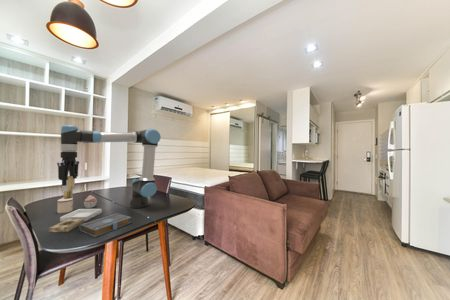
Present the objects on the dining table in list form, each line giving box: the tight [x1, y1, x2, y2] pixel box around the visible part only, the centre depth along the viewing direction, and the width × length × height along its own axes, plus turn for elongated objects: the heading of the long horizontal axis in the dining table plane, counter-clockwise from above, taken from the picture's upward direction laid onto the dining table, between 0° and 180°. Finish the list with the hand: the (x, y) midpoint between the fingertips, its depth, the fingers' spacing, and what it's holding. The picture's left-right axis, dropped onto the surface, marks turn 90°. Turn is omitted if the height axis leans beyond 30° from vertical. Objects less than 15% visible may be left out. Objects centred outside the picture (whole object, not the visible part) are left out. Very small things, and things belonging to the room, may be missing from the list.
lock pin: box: [63, 175, 74, 199], centre depth 104 cm, size 4×4×13 cm
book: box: [78, 212, 132, 238], centre depth 106 cm, size 21×16×5 cm
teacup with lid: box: [56, 196, 74, 214], centre depth 131 cm, size 12×9×12 cm
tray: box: [59, 208, 103, 223], centre depth 120 cm, size 16×16×3 cm
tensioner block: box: [48, 219, 84, 233], centre depth 103 cm, size 10×12×2 cm
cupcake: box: [83, 194, 98, 209], centre depth 140 cm, size 9×9×10 cm
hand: (68, 189), depth 104 cm, fingers closed on lock pin, 4 cm apart
